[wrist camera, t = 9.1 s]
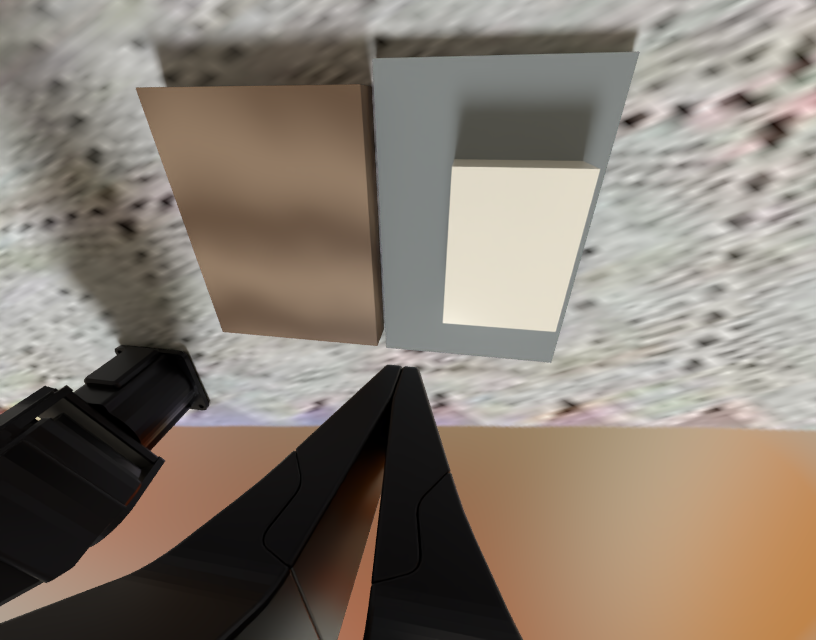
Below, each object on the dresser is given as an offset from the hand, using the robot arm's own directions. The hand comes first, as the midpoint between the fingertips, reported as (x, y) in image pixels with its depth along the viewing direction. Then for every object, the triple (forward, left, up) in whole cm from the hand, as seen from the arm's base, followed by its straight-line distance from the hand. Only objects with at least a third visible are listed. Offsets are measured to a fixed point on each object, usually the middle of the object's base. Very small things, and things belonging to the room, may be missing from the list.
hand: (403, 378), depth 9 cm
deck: (0, +9, -13) cm, 15 cm away
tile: (0, -4, -12) cm, 12 cm away
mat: (0, -2, -13) cm, 13 cm away
